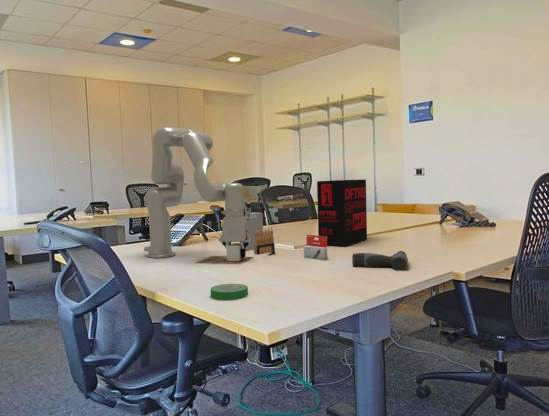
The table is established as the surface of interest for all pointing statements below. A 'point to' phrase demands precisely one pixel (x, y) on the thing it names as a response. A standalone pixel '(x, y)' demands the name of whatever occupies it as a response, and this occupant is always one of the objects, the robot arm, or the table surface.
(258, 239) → the ammunition clip
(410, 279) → the table surface
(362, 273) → the table surface
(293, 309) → the table surface
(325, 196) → the product box
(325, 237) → the ink cartridge box
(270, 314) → the table surface
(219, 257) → the board
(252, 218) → the fuel canister
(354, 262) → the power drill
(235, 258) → the grey block
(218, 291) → the tape roll
